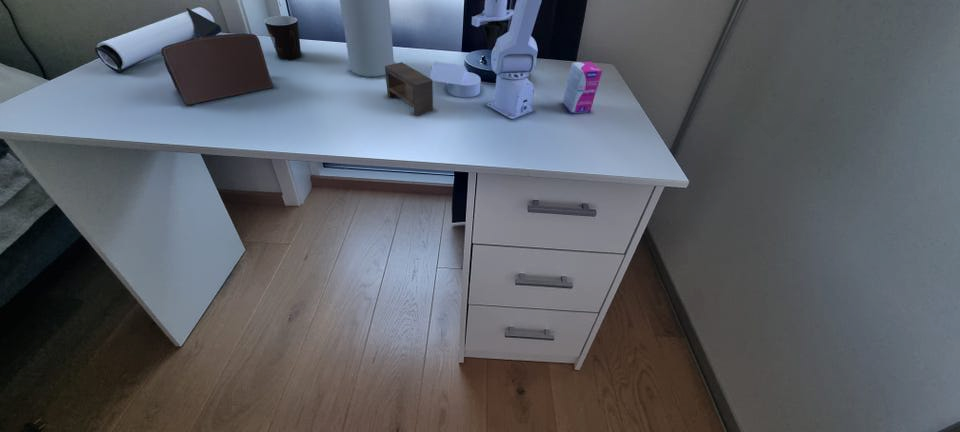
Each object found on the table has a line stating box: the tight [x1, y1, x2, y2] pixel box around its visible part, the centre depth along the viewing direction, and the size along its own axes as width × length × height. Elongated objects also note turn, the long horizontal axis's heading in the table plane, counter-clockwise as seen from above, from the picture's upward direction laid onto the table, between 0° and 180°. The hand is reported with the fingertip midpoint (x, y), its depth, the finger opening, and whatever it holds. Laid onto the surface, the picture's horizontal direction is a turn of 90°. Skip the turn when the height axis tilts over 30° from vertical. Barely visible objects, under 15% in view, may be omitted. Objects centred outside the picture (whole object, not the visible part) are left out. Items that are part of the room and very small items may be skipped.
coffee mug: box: [263, 15, 302, 61], centre depth 114 cm, size 12×9×10 cm
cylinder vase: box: [339, 0, 395, 78], centre depth 107 cm, size 12×12×25 cm
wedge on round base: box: [429, 61, 482, 98], centre depth 107 cm, size 9×7×13 cm
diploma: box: [94, 6, 223, 74], centre depth 111 cm, size 35×9×14 cm
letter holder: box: [160, 33, 274, 107], centre depth 95 cm, size 10×20×14 cm, turn 129°
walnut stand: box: [385, 62, 434, 117], centre depth 98 cm, size 13×5×8 cm, turn 42°
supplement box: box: [561, 61, 603, 114], centre depth 101 cm, size 6×6×12 cm
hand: (491, 49), depth 110 cm, fingers closed
